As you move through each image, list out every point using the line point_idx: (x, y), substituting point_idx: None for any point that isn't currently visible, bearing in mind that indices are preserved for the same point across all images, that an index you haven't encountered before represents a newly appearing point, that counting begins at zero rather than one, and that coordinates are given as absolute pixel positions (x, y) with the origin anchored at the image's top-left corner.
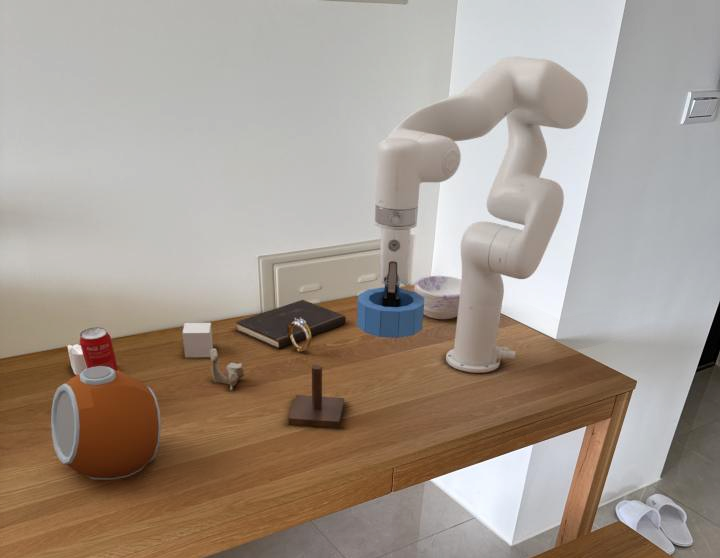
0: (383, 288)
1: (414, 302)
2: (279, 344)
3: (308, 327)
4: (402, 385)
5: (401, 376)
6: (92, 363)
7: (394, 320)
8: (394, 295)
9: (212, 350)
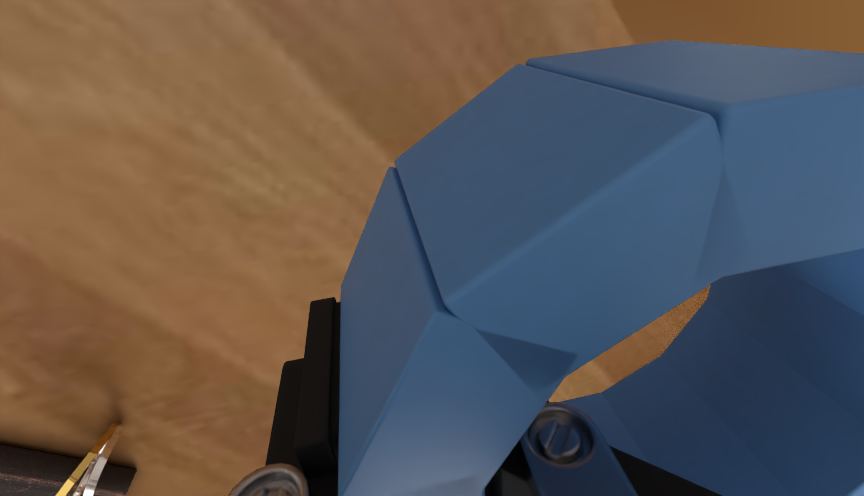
0: None
1: None
2: (131, 479)
3: (65, 484)
4: (183, 106)
5: (106, 121)
6: None
7: None
8: (660, 479)
9: None
